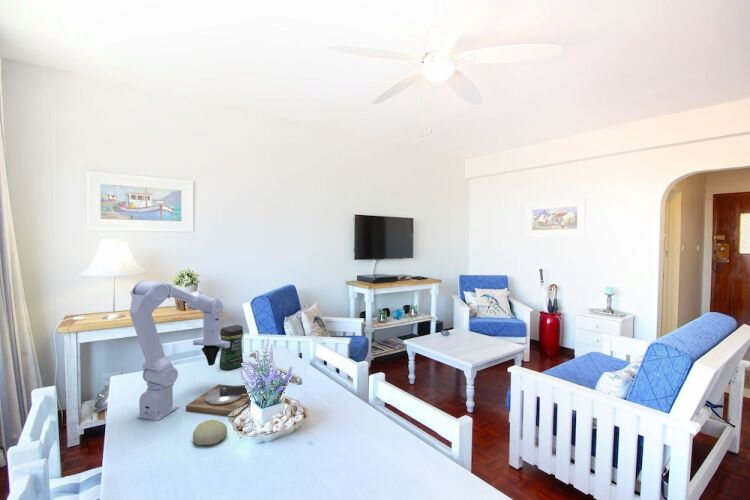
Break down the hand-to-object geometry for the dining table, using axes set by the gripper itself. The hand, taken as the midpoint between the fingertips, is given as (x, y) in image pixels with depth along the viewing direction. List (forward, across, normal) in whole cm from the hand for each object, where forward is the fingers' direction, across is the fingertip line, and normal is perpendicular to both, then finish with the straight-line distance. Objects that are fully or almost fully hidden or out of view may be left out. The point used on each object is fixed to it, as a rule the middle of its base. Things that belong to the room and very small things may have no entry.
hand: (211, 364), depth 140 cm
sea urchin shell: (+10, -21, +31) cm, 39 cm away
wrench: (+10, -18, -17) cm, 27 cm away
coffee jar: (+10, +6, -23) cm, 26 cm away
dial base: (+9, -12, +10) cm, 18 cm away
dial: (+7, -13, +10) cm, 18 cm away
